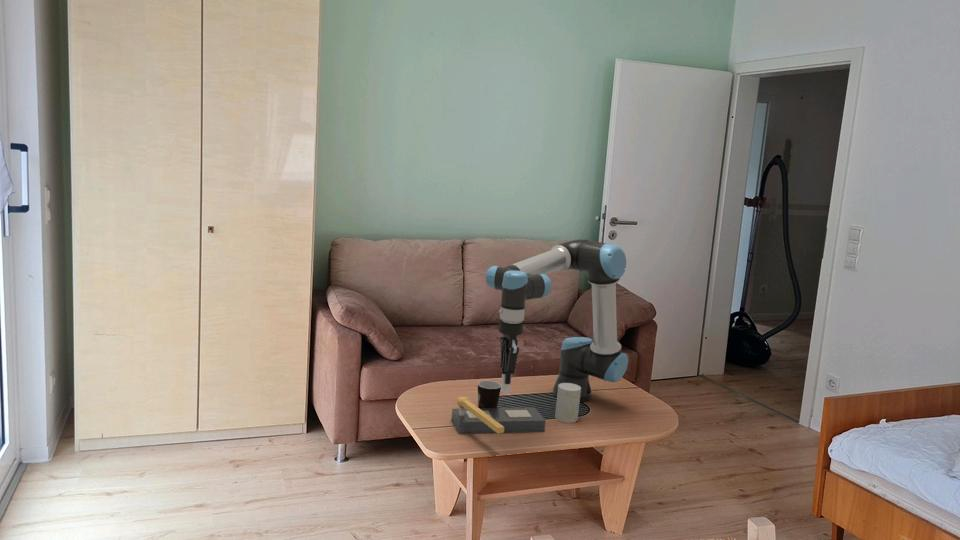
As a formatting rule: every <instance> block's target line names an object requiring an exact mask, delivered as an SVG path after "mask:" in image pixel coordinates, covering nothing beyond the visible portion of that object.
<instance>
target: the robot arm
mask: <svg viewBox="0 0 960 540" xmlns="http://www.w3.org/2000/svg"><path fill="white" fill-rule="evenodd" d="M626 267H627V257H626V254H625V251H624V249H622V248H621V247H620V246H619V245H617V244H616V245H615V244H612V243H608V242H607V243H605V242H601V241H595V240H589V239H585V238H584V239H583V238H581V239H579V238H578V239H572V240H568V241H565V242H561V243H559V244H556V245H554V246H552V247H551V249H550V250H548V251H545V252H543V253H542V252H541V253H539V254H537V255H534V256H531V257H529V258H526V259H523V260H520V261H518V262H515V263H512V264H510V265H507V266H504V267H503V266H501V265H500V266H499V265H498V266H497V265H493V266H490V267H488V269H487V270H486V273H485V283H486V284H487V286H488V287H489V288H491V289H494V290H496V291H501V299H500V300H501V301H500V302H501V303H500V309H498V313H499V319H500V320H499V323H498V332H499V333H500V334H502V335H503V336H500V338H499V339H500V365H499V366H500V368H501V381H500V382H501V383H500V384H501V390H500V394H511V385H512V377H513V375H514V374H515V372H516V365H517V361H518V354H519V351H520V347H517V346H518V342H519V341H518V336H521V335H522V334H523V332H524V322H523V321H525V314H526V313H525V312H526V311H525V310H526V302H527V301H528V300H529V301H530V300H534V299H542V298H544V297H547V296H548V295H549V294H550V293H551V290H552V288H553V287H552V282H551V279H550V278H549V276H548V275H549V274H551V273H555V272H556V271H559V272H565V271H566V270H567V271H568V270H574V271H579V272H583V273H586V280H587V282H588V283H589V284H590V285H591V299H592V301H591V303H592V326H593V328H592V329H593V330H592V331H593V339H592V338H590V337H587V336H586V337H585V336H572V337H567V338H564V339H563V340H562V343H561V348H560V361H559V369H558V371H559V372H558V375H557V377H556V380H555V382H554V384H553V387H552V395H553V396H555V397H556V398H557V392H558V385H559V384H561V383H572V384H576V385H578V386H580V387H581V393H580V402H579V403H581V402H587V401H590V399H591V398H592V388H591V384H590V379H589V377H590V376H591V377H594V378H597V379H600V380H604V382H610V383H616V382H619V381H620V380H621V379H622V378H623V376H624V375H625V373H626V371H627V369H628V366H629V365H628V364H629V357H628V355H627V354H626V353H624V352H622V344H621V343H620V342H619V341H618V327H617V326H618V324H617V323H618V322H617V318H618V317H617V292H616V291H617V288H616V284H617V283H618V282H619V281H621V278H622V277H623V275H624V274H625V272H626Z"/></svg>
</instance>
